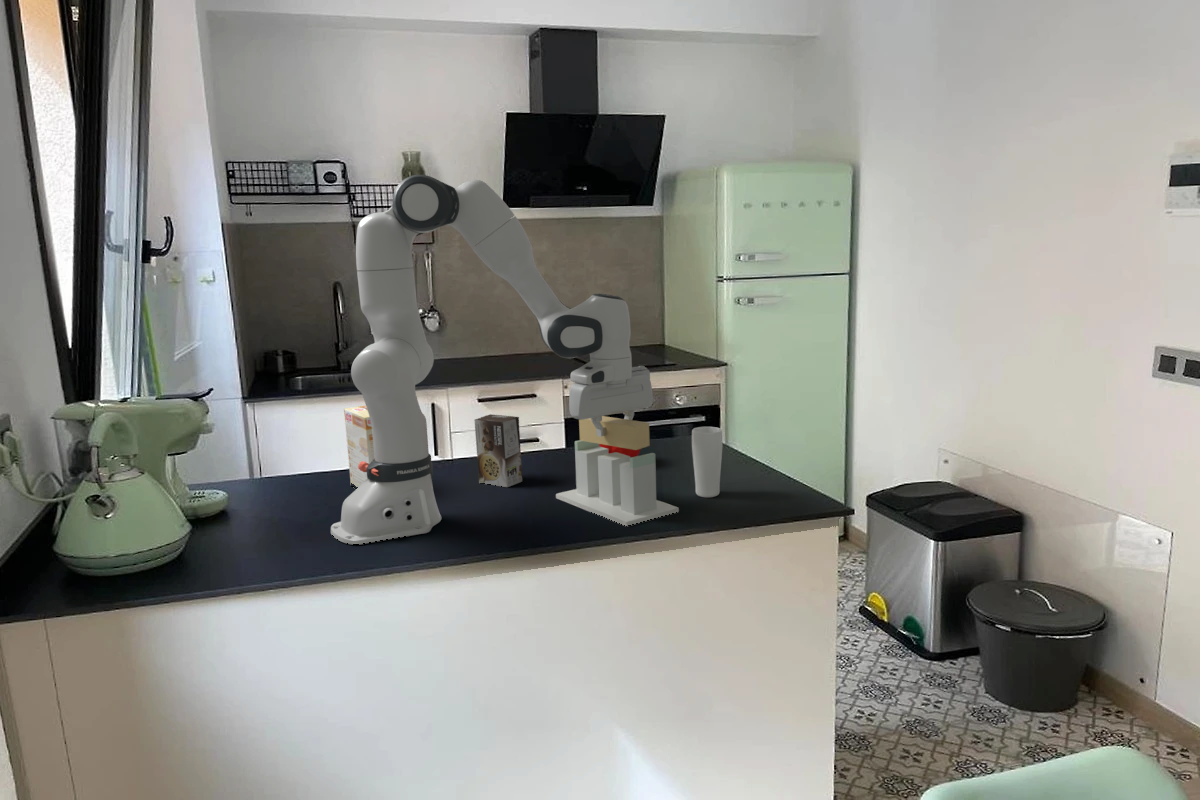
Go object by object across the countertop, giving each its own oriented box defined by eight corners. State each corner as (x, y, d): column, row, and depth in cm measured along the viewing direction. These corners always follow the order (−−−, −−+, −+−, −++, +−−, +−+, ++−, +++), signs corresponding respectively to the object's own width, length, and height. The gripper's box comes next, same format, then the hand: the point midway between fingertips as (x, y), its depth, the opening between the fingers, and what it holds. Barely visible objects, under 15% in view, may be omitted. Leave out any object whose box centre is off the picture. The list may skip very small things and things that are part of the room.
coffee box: (523, 481, 210) (520, 416, 207) (507, 488, 205) (503, 421, 202) (494, 476, 215) (490, 413, 212) (477, 483, 209) (473, 418, 206)
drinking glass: (721, 499, 190) (721, 433, 187) (691, 498, 192) (690, 433, 189) (723, 490, 197) (723, 426, 194) (693, 489, 198) (693, 426, 195)
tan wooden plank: (636, 450, 180) (635, 426, 179) (579, 440, 190) (578, 418, 189) (649, 445, 183) (648, 422, 182) (593, 436, 193) (592, 414, 192)
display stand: (626, 526, 175) (624, 464, 172) (556, 498, 195) (553, 442, 193) (678, 512, 183) (677, 452, 180) (605, 486, 204) (603, 432, 201)
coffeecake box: (400, 494, 203) (394, 413, 199) (371, 500, 199) (363, 417, 195) (378, 480, 215) (371, 404, 211) (349, 486, 211) (342, 408, 207)
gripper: (640, 363, 192) (641, 423, 195) (563, 374, 180) (566, 438, 183) (658, 365, 187) (659, 428, 190) (580, 377, 175) (583, 443, 178)
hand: (613, 433), depth 186 cm, fingers closed on tan wooden plank, 5 cm apart
